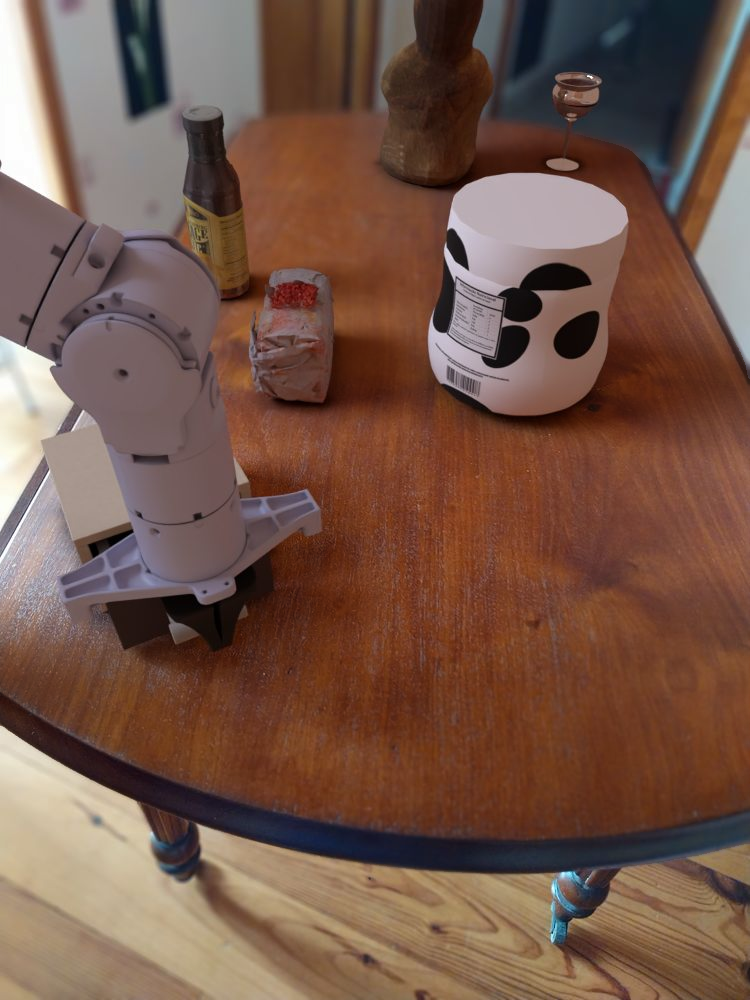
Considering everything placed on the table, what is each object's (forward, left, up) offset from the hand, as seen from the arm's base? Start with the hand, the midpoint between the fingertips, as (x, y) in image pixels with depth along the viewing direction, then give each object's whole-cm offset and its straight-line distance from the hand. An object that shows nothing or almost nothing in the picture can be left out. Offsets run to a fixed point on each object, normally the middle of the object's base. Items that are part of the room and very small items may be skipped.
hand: (217, 637), depth 48 cm
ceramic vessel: (-23, +86, -6) cm, 89 cm away
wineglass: (-7, +100, -6) cm, 100 cm away
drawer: (-7, +5, -5) cm, 10 cm away
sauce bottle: (-31, +44, -6) cm, 54 cm away
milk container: (+5, +43, -6) cm, 43 cm away
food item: (-15, +34, -6) cm, 37 cm away
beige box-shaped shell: (-13, +9, -6) cm, 17 cm away
